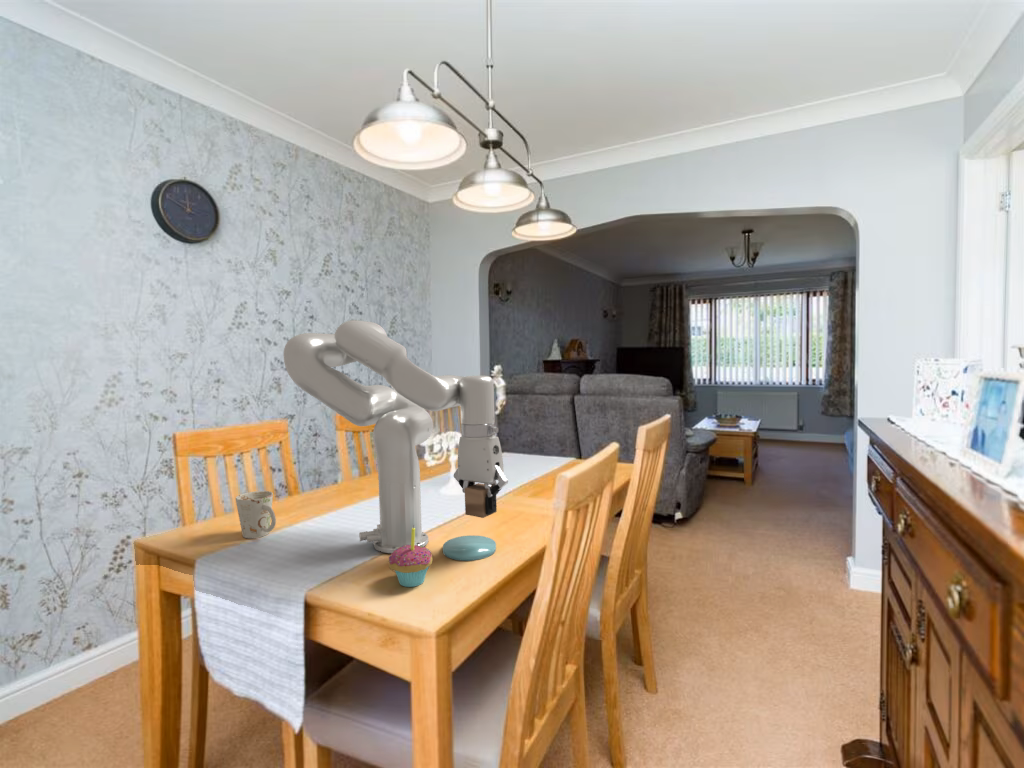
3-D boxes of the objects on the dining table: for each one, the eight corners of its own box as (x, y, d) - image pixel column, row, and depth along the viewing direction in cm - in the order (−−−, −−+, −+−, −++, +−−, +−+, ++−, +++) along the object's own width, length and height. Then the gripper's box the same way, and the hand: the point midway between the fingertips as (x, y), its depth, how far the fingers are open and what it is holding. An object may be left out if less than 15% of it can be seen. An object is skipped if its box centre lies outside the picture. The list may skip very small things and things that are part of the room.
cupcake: (440, 583, 100) (439, 523, 99) (399, 596, 95) (397, 532, 94) (421, 569, 107) (419, 512, 106) (382, 580, 102) (380, 520, 101)
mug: (261, 526, 135) (259, 489, 134) (292, 534, 128) (290, 495, 128) (230, 536, 128) (228, 497, 127) (261, 545, 121) (259, 504, 121)
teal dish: (453, 564, 109) (452, 559, 108) (436, 545, 119) (436, 540, 119) (504, 554, 114) (504, 549, 114) (484, 537, 125) (483, 532, 124)
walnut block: (483, 518, 112) (482, 490, 112) (465, 514, 115) (464, 488, 114) (496, 511, 116) (495, 485, 116) (479, 508, 119) (478, 483, 119)
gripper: (519, 430, 113) (521, 512, 114) (460, 426, 122) (462, 501, 123) (499, 435, 106) (501, 521, 107) (438, 431, 116) (441, 509, 117)
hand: (480, 510), depth 115 cm, fingers closed on walnut block, 5 cm apart
